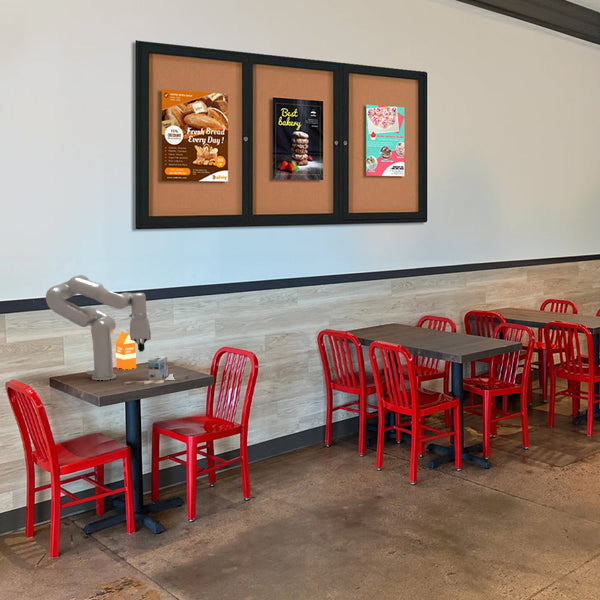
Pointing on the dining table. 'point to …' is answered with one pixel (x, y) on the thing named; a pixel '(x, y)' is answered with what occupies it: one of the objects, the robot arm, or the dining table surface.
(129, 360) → the orange juice
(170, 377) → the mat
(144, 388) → the dining table surface
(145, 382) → the beech turner
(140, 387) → the dining table surface
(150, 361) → the light bulb box
